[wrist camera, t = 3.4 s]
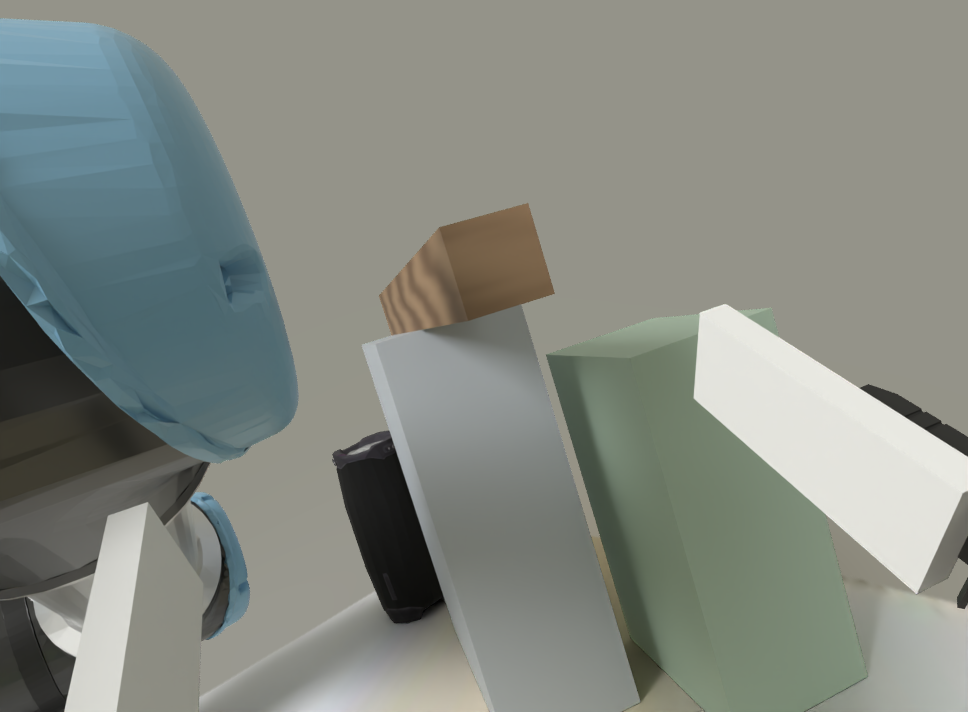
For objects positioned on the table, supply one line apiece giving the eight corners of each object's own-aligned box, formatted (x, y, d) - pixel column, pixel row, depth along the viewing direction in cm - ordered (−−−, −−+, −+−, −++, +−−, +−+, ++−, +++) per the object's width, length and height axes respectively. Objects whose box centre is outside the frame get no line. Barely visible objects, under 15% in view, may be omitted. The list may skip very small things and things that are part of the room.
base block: (867, 676, 39) (771, 307, 37) (740, 746, 36) (629, 358, 34) (729, 590, 52) (653, 318, 50) (630, 638, 50) (545, 354, 48)
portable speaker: (420, 579, 74) (371, 430, 72) (472, 587, 68) (421, 425, 66) (366, 619, 68) (311, 458, 66) (418, 632, 61) (360, 454, 60)
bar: (554, 293, 26) (528, 203, 25) (468, 321, 25) (439, 227, 24) (430, 323, 59) (418, 284, 58) (391, 335, 58) (378, 295, 57)
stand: (640, 702, 43) (519, 298, 40) (512, 767, 40) (375, 344, 38) (544, 590, 62) (459, 314, 59) (454, 630, 60) (361, 344, 57)
